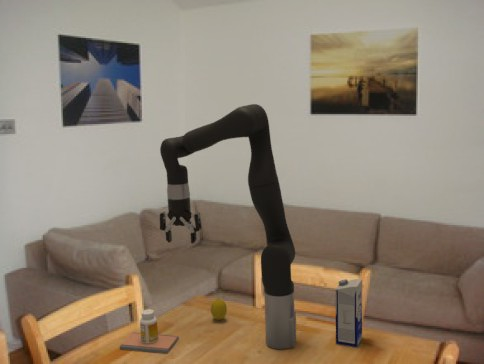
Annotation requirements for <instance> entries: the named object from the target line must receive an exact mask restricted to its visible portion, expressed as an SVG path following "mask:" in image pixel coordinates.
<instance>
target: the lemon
mask: <svg viewBox="0 0 484 364" xmlns="http://www.w3.org/2000/svg"><path fill="white" fill-rule="evenodd" d="M227 311H228V308H227V304H226V302H225V301H224V300H223V299H221V298H216V299H214V300H213V301H212V302H211V305H210V312H211V313H210V314H211V316H212V318H214V319H215V320H218V321H221V320H223V319H224V318H225V316H226V315H227Z"/></svg>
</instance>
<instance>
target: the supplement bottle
mask: <svg viewBox="0 0 484 364" xmlns="http://www.w3.org/2000/svg"><path fill="white" fill-rule="evenodd" d="M139 329H140V333H141V341H142V342H143V343H145V344H150V343H154V342H156V341H157V340H158V334H159V332H158V331H159V330H158V318H157V317H156V316H155V310H153V309H144V310H142V311H141V318H140V319H139Z"/></svg>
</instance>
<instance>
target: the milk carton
mask: <svg viewBox="0 0 484 364" xmlns="http://www.w3.org/2000/svg"><path fill="white" fill-rule="evenodd" d="M334 292H335V294H334V297H335V345H339V346H340V345H341V346H346V347H353V348H358V347H359V345H360V343H361V341H362V339H363V278H358V279H357V278H354V279H349V280H348V279H342V280H339V281H338V286H337V287H335V291H334Z"/></svg>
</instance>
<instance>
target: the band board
mask: <svg viewBox="0 0 484 364" xmlns="http://www.w3.org/2000/svg"><path fill="white" fill-rule="evenodd" d="M179 337H180V336H179V335H170V334H159V333H158V340H157V341H156V342H154V343H150V344H145V343H143V342H142V341H141V332H132V333H130V334H129V336H127V337H126V338H125V340H123V342H122V343H121V344H120V345H119V350H123V351H134V352H145V353H146V352H147V353H158V354H168V353H169V352H170V351H171V349H173V347H174V346H175V345H176V343H177V342H178V341H179Z"/></svg>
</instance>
